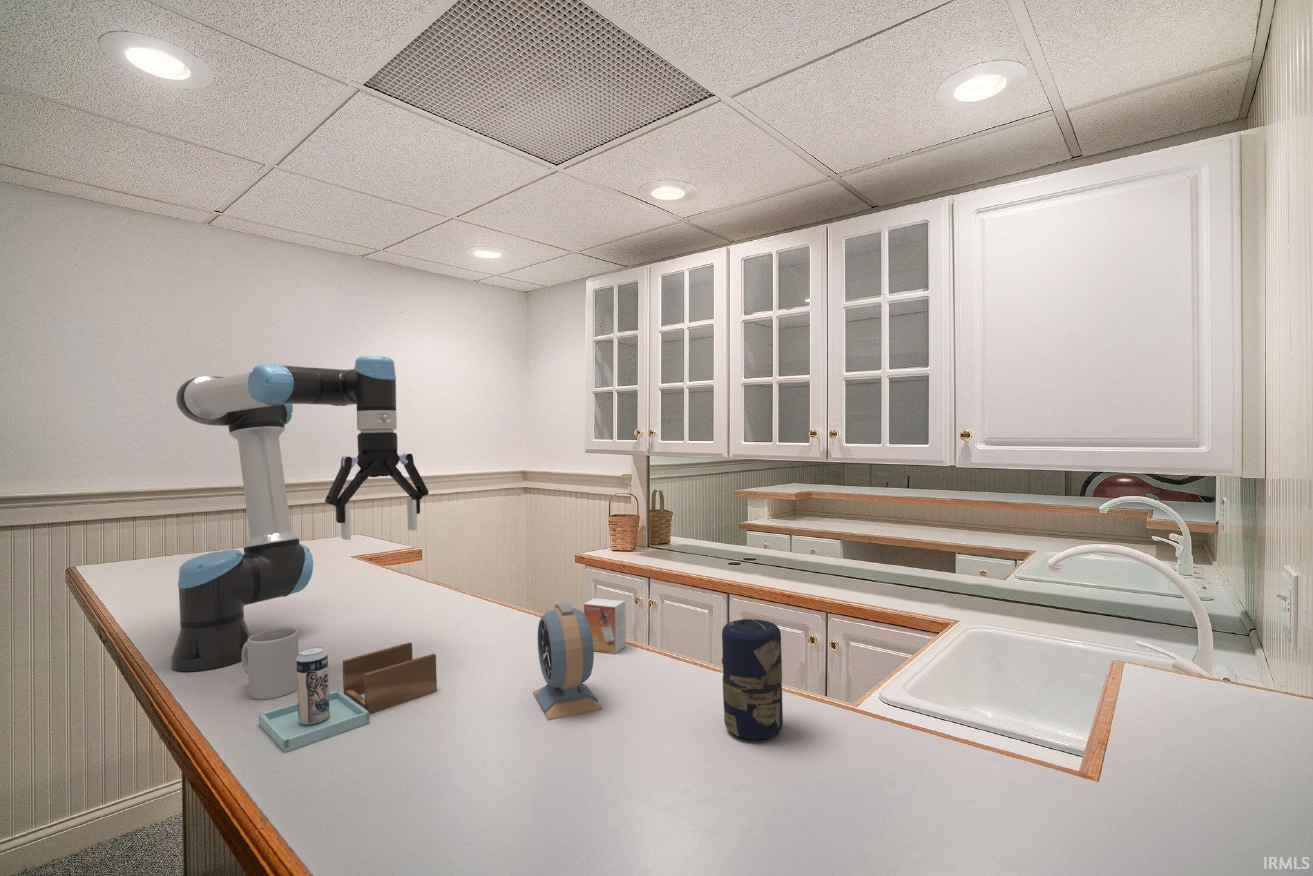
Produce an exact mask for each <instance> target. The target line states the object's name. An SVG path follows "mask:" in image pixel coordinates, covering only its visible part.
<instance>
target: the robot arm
mask: <svg viewBox="0 0 1313 876" xmlns="http://www.w3.org/2000/svg"><path fill="white" fill-rule="evenodd" d="M395 369H396V367H395V362H394V359H392V358H390V357H388V356H382V355H380V356H379V355H378V356H377V355H364V356H358V357H357V358H356V359H355V362H354V368H353V369H351V368H350V369H339V368H324V367H323V368H322V367H305V366H294V365H293V366H292V365H282V364H279V363H278V364H277V363H271V364H261V363H260V364H257V365H255V366H254V367H253V368H252V370H250V371H249V372H244V373H240V374H235V375H227V376H216V375H215V376H209V375H206V376H205V375H204V376H200V377H199V376H198V377H194V378H190V379H189V380H186V381H185V382H184V383H183V384H182V385H180V387H178V388H179V389H178V390H177V393H176V397H175V398H176V405H177V408H178V410H180V413H182V414H183V416H185V417H186V418H188V419H189V420H191V421H193V422H196V423H197V424H198V423H199V424H203V425H208V426H220V427H222V426H223V427H224V426H226V427H227V426H228V432H229V436H231V437H232V438H233V439H235V440H236V441H237V445H238V453H239V459H240V460H239V461H240V467H241V468H240V469H241V477H242V485H243V491H244V492H243V493H244V500H245V502H244V503H245V508H246V516H247V525H248V532H249V533H248V534H249V539H248V541H247V542H246V543H245V544H244V545H243V553H242V551H241V550H239V549H225V550H221V551H213V552H209V553H205V554H202V555H199V556H196V557H192V558H190V559H188V560H186V561H184V562H183V563H182V565H181V566H180V567H179V570H178V582H177V587H178V600H179V621H180V624H179V625H180V630H179V634H178V636H177V640H176V642H175V645H174V648H173V651H172V655H171V659H170V660H171V668H172V670H175V671H178V672H197V671H198V672H199V671H206V670H212V669H218V668H221V667H225V666H230V665H232V664H235V663H238V662H239V663H240V662H242V648H243V645H244V644H245V643H246V642H247V640H248V638H249V637H250V636H252V635H251V634H252V633H251V631H250V629H249V628H248V626H247V623H246V621H245V614H244V613H245V610H244V609H245V608H244V606H247V605H251V604H256V603H259V602H264V601H268V600H272V599H278V598H283V597H284V598H286V597H288V596H290V595H292V594H296V593H300V592H301V591H303V590H304V589H305V588H306V587H307V586H308V585H309V582H310V581H311V579H312V576H313V571H314V559H313V555H312V552H311V551H310V548H309V546H306V545H304V544H302V543H300V538H299V536H297V535H296V534H295V533H293V532H292V529H291V522H290V514H289V506H288V505H289V504H288V498H287V491H286V484H285V483H286V482H285V475H284V468H283V467H284V466H283V461H282V452H281V451H282V450H281V444H280V437H281V435H282V434H283V433H284V432H285V431H286V427H285V425H288V424H289V423H290V422H291V420H292V417H293V415H292V413H293V412H294V411H293V410H294V407H293V405H327V406H328V405H329V406H335V407H346V406H352V405H356V430H358V431H359V432H360V433H358V434H357V436H356V437H357V453H358V454H357V457H351V456H342V457H341V460H340V468H339V470H338V472H337V474H336V477H335V478H334V481H333V483H332V485H331V487H330V489H329V491H328V494H326V497H325V500H324V503H325V504H327V505H331V506H334V507H335V520H336V523H338V524H340V528H341V539H342V540H346V541H348V540H351V539H352V538H351V537H352V535H351V534H352V532H351V506H349V505H347V504H348V502H349V501H350V500H351V499H352V498H353V496H354V494H355V493H356V492H357V491H358V490H359V489H360V488H361V486H362V484H363V483H365V481H367V480H368V478H378V477H389V476H390V477H391V478H392V479H393V481H395V482H396V483H397V484H398V485H399V487H400V488H402V489H403V491H404V492H405V493H406V494H407V495H408V496H409V497H410V498H409V499H408V498H407V499H406V508H407V512H406V513H407V530H409V531H413V532H414V531H417V530H418V520H417V519H418V516H417V515H419V514H420V513H421V499H423V497H425V496H428V495H429V492H430V491H429V489H428V488H427V485H426V484H425V483H424V480H423V478H422V476H421V475H420V473H419V471H418V469H417V467H416V465H415V462H414V456H413V454H412V453H403V454H400V455H399V453H398V433H397V432H395V430H397V429H398V425H397V424H398V422H397V420H398V419H397V387H396V386H397V385H396V384H397V376H396V370H395ZM399 463H401V465H403V467H404V469H405V471H406V473H407V474H408V476H409V479H410V480H411V482H412V484H413V485H414V486H413V485H412V484H411V483H410V481H409V480H408V479H407V478H406V477H405V476H404V475H403V474H402V472H401V471H400V470H399V468H397V465H398V464H399ZM356 464H357V466H358V468H359V470H358V471H357V473H355V476H354V478H353V479H352V480H351V481H350V482H349V484H347V487H345V489H344V486H345V484H346V482H347V479H348V477H349V475H350V474H351V471H352V468H354V467H355V465H356ZM342 489H344V490H343V492H342ZM341 492H342V493H341Z"/></svg>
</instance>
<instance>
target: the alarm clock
mask: <svg viewBox="0 0 1313 876" xmlns="http://www.w3.org/2000/svg"><path fill="white" fill-rule="evenodd" d="M537 653H538V660H539V665H540V670H541V674H542V677H543V679H544V681H545V683H546V685H544V686H542V687H540V688H539V689H536V690H535V691H532V695H533V697H534V698H535V700H536V702H537V705H538V706H539V707H540V709H541V711H542V713H543V715H544V717H545V718H546V720H547V721H552V720H557V719H562V718H567V717H571V716H576V715H580V714H586V713H591V712H594V711H595V712H596V711H600V710H603V707H602V705H601V704H600V703H599V699H598V698H597V697H596V696H595V694H594V693H593V692H592V691H591V690H590V688H589V687H588V685H587V684H585V682H586V681H587V680H588V679H590V677H591V675H592V672H593V668H594V661H595V660H594V659H595V657H594V656H595V651H594V648H593V639H592V633H591V629H590V626H589V622H588V620H587V618H586V616H585V614H584V611H582V610H580V609H578V608H576V607H572V605H570V603H568V602H564V603H563V602H561V603H556V604H554V608H553V609H551V610H550V611H547V612H546V613H544V614H543V615H542V616H541V617H540V620H539V622H538V627H537Z"/></svg>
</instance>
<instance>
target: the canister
mask: <svg viewBox="0 0 1313 876" xmlns="http://www.w3.org/2000/svg"><path fill="white" fill-rule="evenodd" d="M781 633H782V632H781V630H780V627H779V626H778V625H776V624H775V623H774V622H770V621H768V620H763V619H754V618H753V619H752V618H742V619H735V620H732V621H730V622H727V623H726V624H725V625H724V626H723V627H722V630H721V643H722V657H721V664H722V696H723V711H724V713H723V714H724V715H723V720H724V725H725V727H726V729H727V730H728V731H729V733H731V734H733V735H734V736H737V737H739V738H743V739H748V740H749V739H750V740H762V739H768V738H771V737H774V736H775V735H777V734H779V732H780V731H781V729H782V728H783V724H784V719H783V718H784V715H783V712H784V711H783V666H782V665H783V660H782V634H781Z"/></svg>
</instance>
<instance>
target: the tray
mask: <svg viewBox="0 0 1313 876" xmlns="http://www.w3.org/2000/svg"><path fill="white" fill-rule="evenodd" d="M329 711H330V716H329V717H328V718H326V719H325V720H324V721H322V722H320V723H318V724H314V725H304V724H301V723H299V722H298V702H296V703H293V704H289V705H286V706H282V707H279V708H276V709H273V710H269V711H266V712H262V713H260V714H258V725H259V726H260V728H262V730H263V731H264V732H265V733H266V735H268V736H269V737H270V738H271V740H273V741H274V742H275V744H276V745H277V746H278V747H279V748H280V749H281V750H282V751H283V752H284V753H288V752H291V751H293V750H296V749H298V748H302V747H304V746H308V745H310V744H314V743H317V742H318V741H322V740H325V739H327V738H330V737H334V736H336V735H340V734H342V733H344V732H348V731H350V730H354V729H356V728H359V727H362V726H364V725H368V724H370V723H371V720H370V719H371V718H370V717H371V716H370V712H368V711H367V710H366V709H364V708H363V707H361V706H360V705H359V704H357V703H356V702H354V701H353V700H352V699H350V698H349V697H347V696H346V695H345V694H344V692H342V691H340V690H335V691H332V692H329Z"/></svg>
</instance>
